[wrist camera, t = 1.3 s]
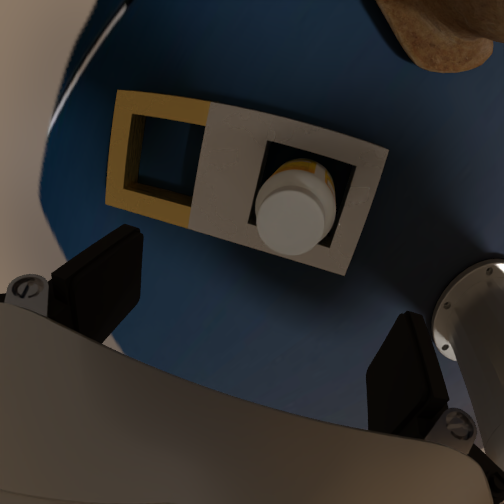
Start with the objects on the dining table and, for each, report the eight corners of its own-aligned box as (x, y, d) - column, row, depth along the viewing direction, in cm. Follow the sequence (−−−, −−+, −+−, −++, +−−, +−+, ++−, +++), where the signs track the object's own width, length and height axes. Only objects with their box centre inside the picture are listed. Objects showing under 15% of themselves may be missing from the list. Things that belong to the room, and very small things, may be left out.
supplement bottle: (346, 183, 26) (357, 219, 17) (308, 229, 28) (299, 283, 20) (295, 144, 26) (279, 159, 17) (259, 192, 28) (227, 231, 20)
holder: (383, 146, 24) (388, 150, 22) (343, 262, 29) (344, 275, 27) (132, 90, 26) (117, 89, 24) (119, 196, 31) (105, 203, 29)
